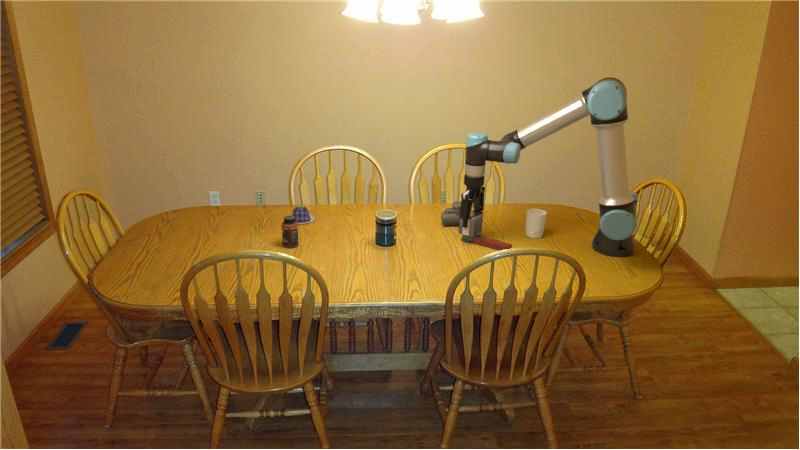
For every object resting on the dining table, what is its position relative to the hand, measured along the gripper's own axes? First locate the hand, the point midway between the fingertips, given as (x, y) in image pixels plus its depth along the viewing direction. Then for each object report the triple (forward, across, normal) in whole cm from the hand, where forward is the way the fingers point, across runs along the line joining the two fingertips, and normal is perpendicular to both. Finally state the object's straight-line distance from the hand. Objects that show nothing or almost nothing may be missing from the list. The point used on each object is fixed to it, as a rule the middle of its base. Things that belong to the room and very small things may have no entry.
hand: (470, 232), depth 226 cm
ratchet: (+3, 0, +7) cm, 8 cm away
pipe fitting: (+4, -10, -13) cm, 17 cm away
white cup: (+4, -21, +17) cm, 27 cm away
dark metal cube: (0, 0, 0) cm, 0 cm away
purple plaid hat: (+4, +27, -66) cm, 71 cm away
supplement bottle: (+4, +48, -49) cm, 69 cm away
